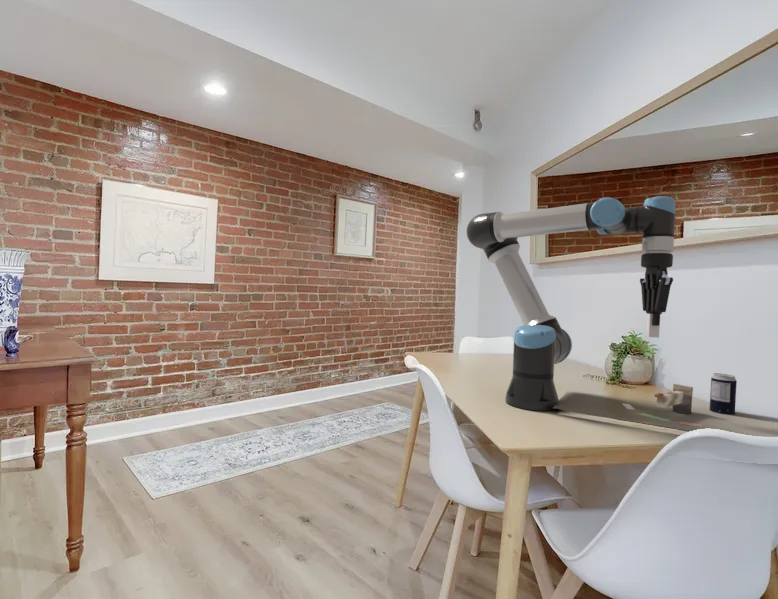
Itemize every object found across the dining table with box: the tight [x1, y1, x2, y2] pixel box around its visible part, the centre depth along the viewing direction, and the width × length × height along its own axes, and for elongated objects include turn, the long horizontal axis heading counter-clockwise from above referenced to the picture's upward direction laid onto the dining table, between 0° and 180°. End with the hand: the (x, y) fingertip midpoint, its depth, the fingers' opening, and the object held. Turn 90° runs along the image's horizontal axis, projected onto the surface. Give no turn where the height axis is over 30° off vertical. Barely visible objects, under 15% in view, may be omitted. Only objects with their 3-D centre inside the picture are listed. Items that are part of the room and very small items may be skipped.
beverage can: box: [709, 373, 738, 416], centre depth 121 cm, size 6×6×12 cm
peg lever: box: [654, 383, 694, 415], centre depth 115 cm, size 18×4×7 cm, turn 125°
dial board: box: [613, 403, 703, 432], centre depth 117 cm, size 20×18×1 cm
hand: (652, 337), depth 119 cm, fingers closed
